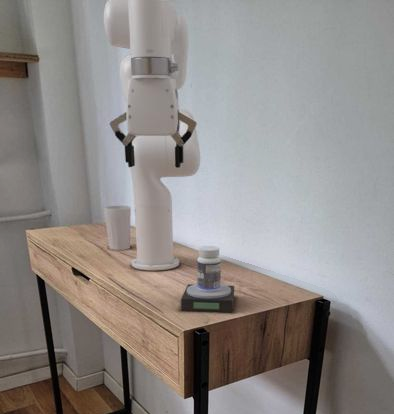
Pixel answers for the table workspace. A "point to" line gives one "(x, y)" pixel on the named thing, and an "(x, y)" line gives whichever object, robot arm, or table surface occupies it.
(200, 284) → the pill bottle
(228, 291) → the scale
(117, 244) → the cup
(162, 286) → the table surface
